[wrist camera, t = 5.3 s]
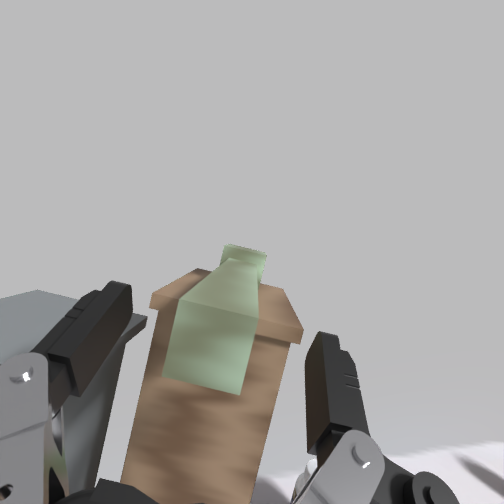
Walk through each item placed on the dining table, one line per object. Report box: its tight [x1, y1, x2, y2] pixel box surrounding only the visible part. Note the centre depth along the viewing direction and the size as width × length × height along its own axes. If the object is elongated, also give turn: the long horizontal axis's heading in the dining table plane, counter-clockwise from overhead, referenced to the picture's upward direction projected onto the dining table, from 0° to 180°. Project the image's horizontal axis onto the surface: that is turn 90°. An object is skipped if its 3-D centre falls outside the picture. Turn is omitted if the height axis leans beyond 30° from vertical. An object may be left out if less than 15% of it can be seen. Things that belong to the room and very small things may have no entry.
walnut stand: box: [120, 268, 304, 504], centre depth 26 cm, size 10×14×32 cm
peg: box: [162, 244, 267, 395], centre depth 20 cm, size 4×22×4 cm, turn 179°
